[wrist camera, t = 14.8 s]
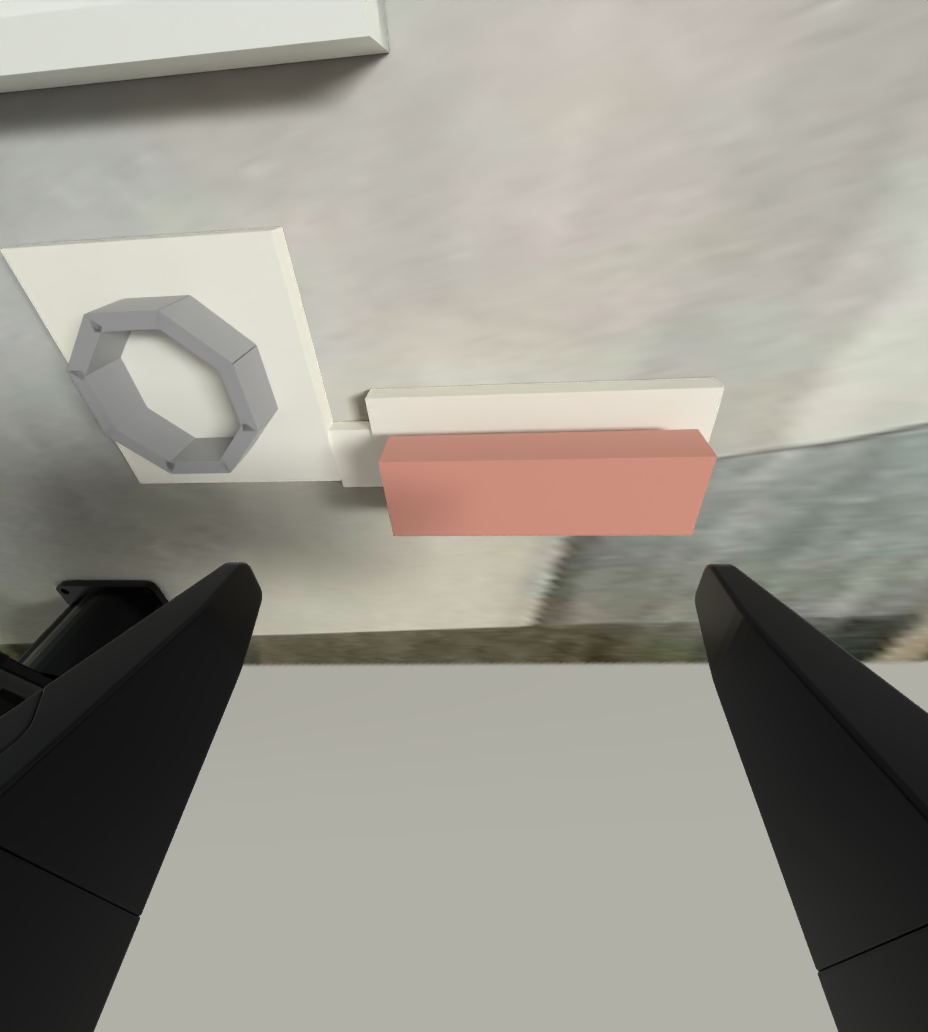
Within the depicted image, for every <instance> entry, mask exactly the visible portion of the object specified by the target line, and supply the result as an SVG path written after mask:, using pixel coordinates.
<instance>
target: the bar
mask: <svg viewBox="0 0 928 1032" xmlns="http://www.w3.org/2000/svg"><path fill="white" fill-rule="evenodd" d="M716 458H717V456H716V454H715V453H714V452H713V450H712V449H711V447H710V446H709V444H708V443H707V441H706V440H705V438H704V437H703V435H702V434H701V433H700V431H699V430H698V429H681V430H638V431H595V432H553V433H510V434H467V435H425V436H389V437H388V440H387V442H386V445H385V447H384V450H383V452H382V455H381V457H380V460H379V462H378V463H379V468H380V473H381V478H382V482H383V487H384V492H385V497H386V502H387V506H388V511H389V516H390V521H391V526H392V530H393V535H394V536H571V535H692V533H693V530H694V527H695V524H696V521H697V518H698V514H699V511H700V508H701V505H702V502H703V499H704V495H705V492H706V489H707V486H708V483H709V480H710V477H711V473H712V470H713V467H714V464H715V461H716Z"/></svg>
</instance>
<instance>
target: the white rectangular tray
mask: <svg viewBox="0 0 928 1032" xmlns="http://www.w3.org/2000/svg"><path fill="white" fill-rule="evenodd" d="M380 53H390V50H389V42H388V33H387V24H386V16H385V7H384V0H0V93H5V92H15V91H24V90H34V89H44V88H53V87H63V86H72V85H82V84H92V83H101V82H111V81H121V80H130V79H140V78H149V77H159V76H169V75H178V74H188V73H198V72H207V71H217V70H226V69H236V68H246V67H255V66H265V65H274V64H284V63H294V62H303V61H313V60H323V59H332V58H342V57H351V56H361V55H371V54H380Z"/></svg>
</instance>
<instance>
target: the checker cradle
mask: <svg viewBox="0 0 928 1032" xmlns="http://www.w3.org/2000/svg"><path fill="white" fill-rule="evenodd" d="M0 251H1V252H2V254H3V256H4V257H5V259H6V261H7V262H8V264H9V266H10V267H11V269H12V271H13V272H14V274H15V276H16V277H17V279H18V281H19V282H20V284H21V286H22V287H23V289H24V291H25V292H26V294H27V296H28V297H29V299H30V301H31V302H32V304H33V306H34V307H35V309H36V311H37V312H38V314H39V316H40V317H41V319H42V321H43V322H44V324H45V326H46V327H47V329H48V331H49V332H50V334H51V336H52V337H53V339H54V341H55V342H56V344H57V345H58V347H59V349H60V350H61V352H62V354H63V355H64V357H65V359H66V360H67V362H68V367H67V373H68V374H69V376H70V377H71V379H72V381H73V382H74V384H75V386H76V387H77V389H78V391H79V392H80V394H81V396H82V397H83V399H84V400H85V402H86V404H87V405H88V407H89V409H90V410H91V412H92V414H93V415H94V417H95V418H96V420H97V422H98V423H99V425H100V427H101V428H102V430H103V432H104V433H105V435H107V436H108V437H109V438H111V439H113V440H114V441H115V442H116V444H117V445H118V447H119V449H120V450H121V452H122V454H123V455H124V457H125V459H126V460H127V462H128V464H129V465H130V467H131V469H132V470H133V472H134V474H135V475H136V477H137V479H138V480H139V482H140V484H152V483H222V482H292V481H340V480H342V483H343V487H383V482H382V478H381V473H380V468H379V463H378V462H379V460H380V457H381V455H382V452H383V450H384V447H385V445H386V442H387V440H388V437H389V436H425V435H467V434H510V433H553V432H595V431H638V430H681V429H698V430H699V431H700V433H701V434H702V435H703V437H704V438H705V440H706V441H707V443H708V442H709V439H710V436H711V432H712V429H713V426H714V422H715V419H716V415H717V412H718V409H719V405H720V402H721V399H722V395H723V392H724V389H725V387H724V386H723V385H722V384H721V383H720V382H719V380H718V379H717V378H716V377H706V378H676V379H646V380H617V381H587V382H557V383H527V384H497V385H468V386H438V387H408V388H378V389H370V391H369V392H368V394H367V396H366V398H365V401H366V406H367V411H368V416H369V420H370V421H355V422H333V419H332V415H331V411H330V407H329V403H328V400H327V396H326V392H325V388H324V384H323V381H322V377H321V373H320V369H319V365H318V361H317V358H316V354H315V350H314V346H313V342H312V339H311V335H310V331H309V327H308V323H307V320H306V316H305V312H304V308H303V304H302V301H301V297H300V293H299V289H298V285H297V282H296V278H295V274H294V270H293V266H292V262H291V259H290V255H289V251H288V247H287V243H286V240H285V236H284V232H283V228H282V227H269V228H254V229H240V230H225V231H211V232H196V233H182V234H167V235H153V236H138V237H124V238H109V239H95V240H80V241H66V242H51V243H37V244H23V245H18V246H13V247H8V248H3V249H0Z"/></svg>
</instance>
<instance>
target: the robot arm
mask: <svg viewBox="0 0 928 1032" xmlns="http://www.w3.org/2000/svg"><path fill="white" fill-rule="evenodd" d="M56 590H57V591H58V592H59V594H60V595H61V596H62V597H63V598H64V599H65V600H66V601H67V603H68V604H69V605H70V606H69V607H68V608H67V609H66V610H65V611H64V612H63V613H62V614H61V615H60V616H59V617H58V618H57V619H56V620H55V621H54V623H53V624H52V625H51V626H50V627H49V628H48V629H47V630H46V631H45V632H44V633H43V634H42V635H41V636H40V637H39V638H38V639H37V640H36V641H35V642H34V643H33V645H32V646H31V647H30V648H29V649H28V650H27V651H26V652H25V653H24V654H23V655H22V656H21V657H20V658H19V659H18V660H17V661H15V660H13V659H11V658H9V657H10V656H9V655H7V654H5V653H3V652H1V651H0V1032H94V1030H95V1027H96V1025H97V1022H98V1020H99V1017H100V1015H101V1013H102V1010H103V1008H104V1005H105V1003H106V1000H107V998H108V996H109V993H110V990H111V988H112V986H113V983H114V981H115V978H116V976H117V973H118V971H119V969H120V966H121V964H122V961H123V959H124V956H125V954H126V952H127V949H128V947H129V944H130V942H131V939H132V937H133V934H134V932H135V930H136V927H137V925H138V922H139V920H140V917H139V916H140V915H141V914H142V912H143V909H144V907H145V904H146V902H147V899H148V897H149V895H150V892H151V890H152V887H153V885H154V882H155V880H156V877H157V875H158V873H159V870H160V867H161V865H162V863H163V860H164V858H165V855H166V853H167V851H168V848H169V846H170V843H171V841H172V838H173V836H174V833H175V831H176V829H177V826H178V824H179V821H180V819H181V816H182V814H183V811H184V809H185V806H186V804H187V802H188V799H189V797H190V794H191V792H192V789H193V787H194V785H195V782H196V780H197V777H198V775H199V772H200V770H201V767H202V765H203V763H204V760H205V758H206V755H207V753H208V750H209V748H210V745H211V743H212V740H213V738H214V736H215V733H216V731H217V728H218V726H219V723H220V721H221V719H222V716H223V714H224V711H225V709H226V706H227V704H228V701H229V699H230V697H231V694H232V692H233V689H234V687H235V684H236V682H237V679H238V677H239V674H240V672H241V669H242V666H243V663H244V660H245V657H246V653H247V650H248V647H249V643H250V640H251V636H252V633H253V629H254V626H255V622H256V619H257V615H258V612H259V608H260V605H261V601H262V591H261V588H260V586H259V584H258V581H257V579H256V577H255V575H254V573H253V571H252V569H251V567H250V566H249V565H248V564H247V563H243V562H229V563H225V564H223V565H222V566H220V567H219V568H217V569H216V570H215V571H213V572H212V573H210V574H209V575H207V576H206V577H204V578H203V579H201V580H200V581H199V582H197V583H196V584H194V585H193V586H191V587H190V588H188V589H187V590H185V591H184V592H183V593H181V594H180V595H178V596H177V597H175V598H174V599H172V600H171V601H169V602H168V601H167V599H166V598H165V596H164V595H163V593H162V592H161V591H160V589H159V588H158V587H157V586H156V585H155V584H153V583H151V582H97V581H63V582H62V583H60V584H59V585H58V586H57V587H56ZM695 605H696V610H697V614H698V618H699V623H700V627H701V631H702V636H703V640H704V644H705V649H706V653H707V657H708V662H709V666H710V670H711V674H712V678H713V681H714V684H715V687H716V690H717V693H718V696H719V699H720V701H721V705H722V707H723V710H724V713H725V716H726V718H727V721H728V724H729V727H730V730H731V733H732V735H733V738H734V740H735V744H736V746H737V749H738V752H739V754H740V758H741V760H742V763H743V766H744V769H745V772H746V774H747V777H748V780H749V783H750V786H751V788H752V791H753V794H754V797H755V799H756V802H757V805H758V808H759V810H760V813H761V816H762V819H763V822H764V824H765V827H766V830H767V833H768V836H769V838H770V841H771V844H772V847H773V850H774V852H775V855H776V858H777V860H778V864H779V866H780V869H781V872H782V875H783V877H784V880H785V883H786V886H787V889H788V891H789V894H790V897H791V900H792V903H793V906H794V908H795V911H796V914H797V917H798V919H799V922H800V925H801V928H802V931H803V933H804V936H805V939H806V942H807V945H808V947H809V950H810V953H811V956H812V959H813V961H814V964H815V967H816V969H817V970H818V971H819V972H818V976H819V979H820V982H821V985H822V987H823V990H824V993H825V996H826V999H827V1001H828V1004H829V1007H830V1010H831V1013H832V1015H833V1018H834V1021H835V1024H836V1026H837V1029H838V1032H928V713H927V712H926V711H924V710H923V709H921V708H920V707H919V706H918V705H916V704H915V703H914V702H912V701H911V700H910V699H909V698H907V697H906V696H905V695H903V694H902V693H901V692H899V691H898V690H897V689H895V688H894V687H893V686H891V685H890V684H889V683H887V682H886V681H885V680H884V679H882V678H881V677H880V676H878V675H877V674H875V673H874V672H873V671H872V670H870V669H869V668H868V667H866V666H865V665H864V664H863V663H861V662H860V661H859V660H857V659H856V658H855V657H853V656H852V655H851V654H849V653H848V652H847V651H845V650H844V649H843V648H841V647H840V646H839V645H838V644H836V643H835V642H834V641H832V640H831V639H830V638H828V637H827V636H826V635H824V634H823V633H822V632H820V631H819V630H818V629H816V628H815V627H814V626H813V625H811V624H810V623H809V622H807V621H806V620H805V619H803V618H802V617H801V616H799V615H798V614H797V613H795V612H794V611H793V610H792V609H790V608H789V607H788V606H786V605H785V604H784V603H782V602H781V601H780V600H778V599H777V598H776V597H774V596H773V595H772V594H770V593H769V592H768V591H767V590H765V589H764V588H763V587H761V586H760V585H759V584H757V583H756V582H755V581H753V580H752V579H751V578H749V577H748V576H747V575H745V574H744V573H743V572H742V571H740V570H739V569H738V568H736V567H735V566H733V565H731V564H709V565H707V566H706V568H705V569H704V572H703V575H702V577H701V580H700V583H699V586H698V588H697V591H696V595H695Z"/></svg>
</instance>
